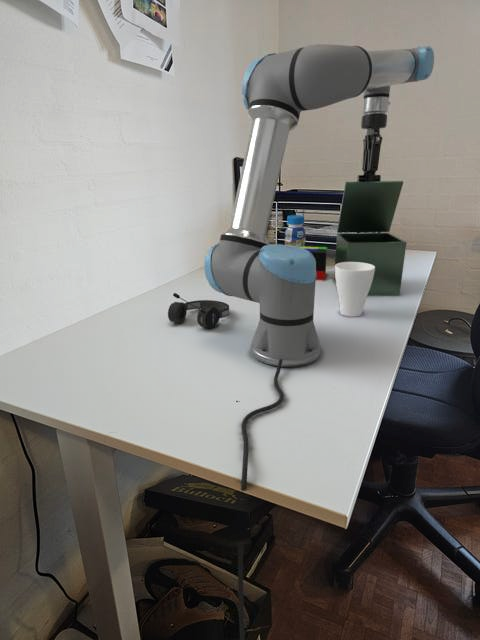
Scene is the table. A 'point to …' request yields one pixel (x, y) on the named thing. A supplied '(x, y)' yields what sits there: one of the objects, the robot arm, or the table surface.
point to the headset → (205, 316)
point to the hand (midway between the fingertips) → (367, 193)
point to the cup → (353, 286)
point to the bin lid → (368, 205)
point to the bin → (375, 258)
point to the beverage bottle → (295, 231)
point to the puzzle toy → (319, 260)
